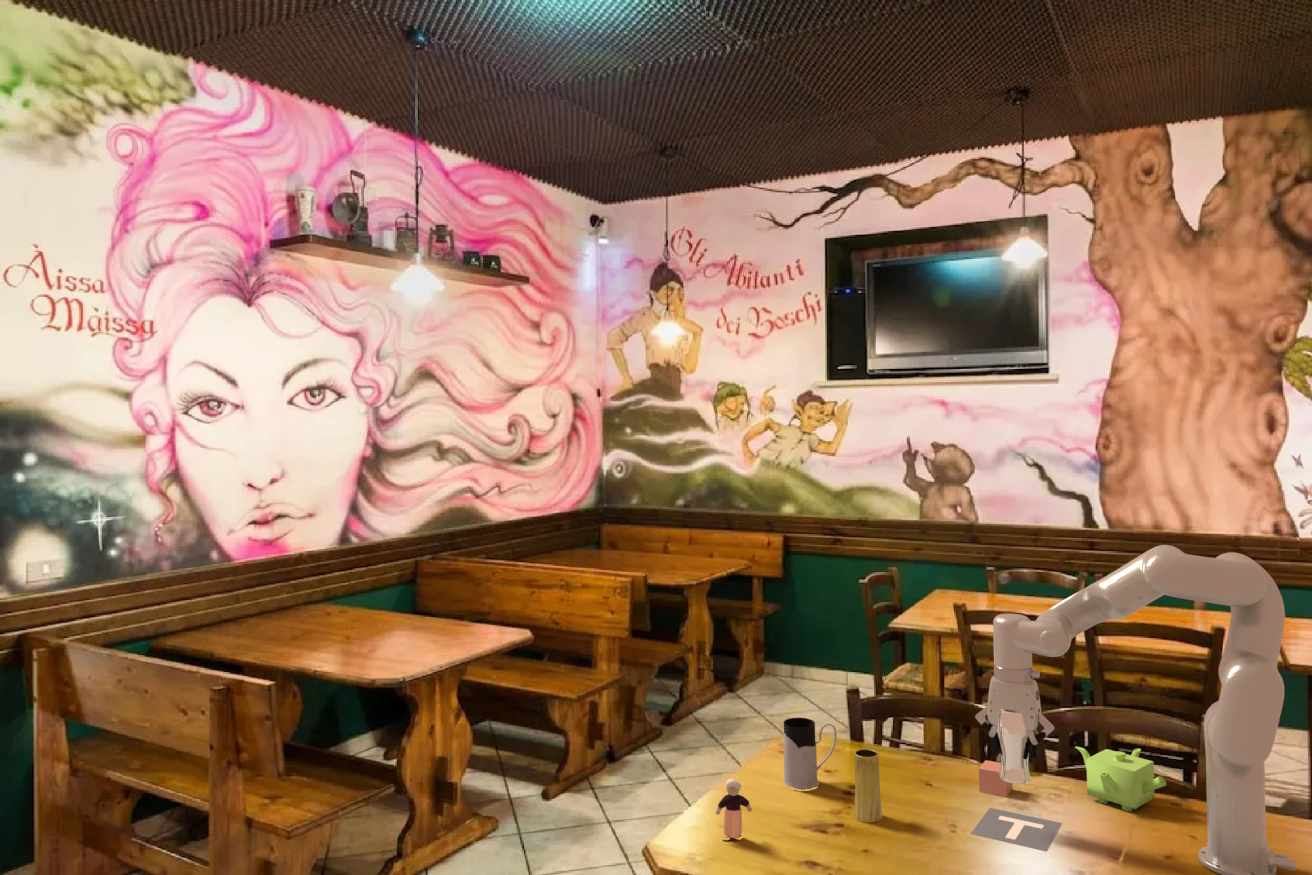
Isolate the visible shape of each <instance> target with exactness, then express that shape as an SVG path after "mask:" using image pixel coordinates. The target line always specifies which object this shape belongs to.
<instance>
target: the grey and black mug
mask: <svg viewBox="0 0 1312 875" xmlns="http://www.w3.org/2000/svg"><path fill="white" fill-rule="evenodd" d="M827 726H832V728H833V732H834V733H833V741H832V745H831V748H830V750H829V752H828V754H826V756H825V757H823V758H824V759H823V760H822V761H821V762H820V763H819V764H817V744H819V743H820V742H821V741H822V734H823V730H824V729H825V728H826V727H827ZM818 733H819V734H818V740H816V723H815V721H814V720H813V719H810V718H805V717H790V718H787V719H785V720H784V721H783V739H782V740H783V741H782V742H783V768H784V769H783V772H784V774H783V775H784V778H783V781H784V783H785V784H786V785H787V786H788V787H793V788H796V789H801V790H803V789H804V790H805V789H811V788H813V787H817V786H818V783H819V781H818V770H819V769H820V768H821V767H822V765H823V764H824V763H826V761H827V760H828V758H829V757H830V756H831V755H832V753H833V751H834V749H835V746H836V741H837V730H836V726H835V725H834V724H832V723H824V724H823V725H822V726H821V727H820V729H819V732H818ZM819 784H820V783H819Z"/></svg>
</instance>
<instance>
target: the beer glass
mask: <svg viewBox="0 0 1312 875" xmlns="http://www.w3.org/2000/svg"><path fill="white" fill-rule="evenodd" d="M999 710H1000V711H999V717H998V725H997V726H996V728H997V738H998V744H999V748H1000V754H999V755H1000V761H1001V762H1000V763H1001V769H1000V778H1001V779H1002V780H1004V781H1006V782H1010V783H1012V784H1018V785H1022V784H1027V783H1029V782H1030V781H1031V774H1030V770H1029V744H1030V739H1029V737H1028V731H1026V730H1025V726H1024V722H1023V718H1022V713H1021V712H1008V711H1004V710H1001V709H999Z"/></svg>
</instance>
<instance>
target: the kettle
mask: <svg viewBox="0 0 1312 875" xmlns="http://www.w3.org/2000/svg"><path fill="white" fill-rule="evenodd" d="M1074 748H1075V749H1076V750H1077V751H1079V752H1080V754H1081V755H1082V757H1083V762H1084V766H1085V770H1086V792H1087V795H1088V796H1091V797H1094V798H1098V799H1097V803H1099V804H1102V805H1107V804H1109V802H1111V803H1113V804H1118V805H1121V810H1122V809H1123V810H1122V811H1124V810H1125V811H1124V812H1127V811H1132V810H1133V811H1134V810H1137V809H1138V808H1139V807H1141V806H1143V805H1145V804H1147V803H1149V802H1150V801H1152V800H1153V799H1155V790H1157V789H1161V788H1162V787H1165V786H1167V782H1166V779H1164V778H1163V776H1160V775H1159V776H1157V777H1155V770H1154V769H1155V768H1154V766H1155V765H1154V763H1155V762H1154V761H1153V760H1149V759H1145V758H1142V757H1139V756H1140V753H1141V752H1142V749H1141V748H1134V749H1133V750H1132V753H1131V754H1127V753H1126V752H1124V751H1115V750H1112V749H1107V748H1106V749H1104V750H1102V751H1099V752H1098V753H1095V754H1093V755H1092V756H1091V755H1090V753H1089V752H1088V750H1086V749H1085V748H1084V747H1082V746H1081V747H1080V746H1074ZM1133 811H1132V812H1133Z"/></svg>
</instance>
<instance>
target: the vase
mask: <svg viewBox="0 0 1312 875" xmlns="http://www.w3.org/2000/svg"><path fill="white" fill-rule="evenodd" d="M853 753H854V754H853V761H854V762H853V765H854V812H853V816H854V819H856V820H857V821H859V822H862V823H868V824H871V823H872V824H873V823H878V822H881V820H882V819H883V813H882V800H881V798H882V797H881V782H880V780H881V779H880V778H881V777H880V761H879V760H880V759H879V754H880V753H879V752H878V751H876V750H875V749H871V748H859V749H856V750H855V751H854V752H853Z"/></svg>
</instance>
